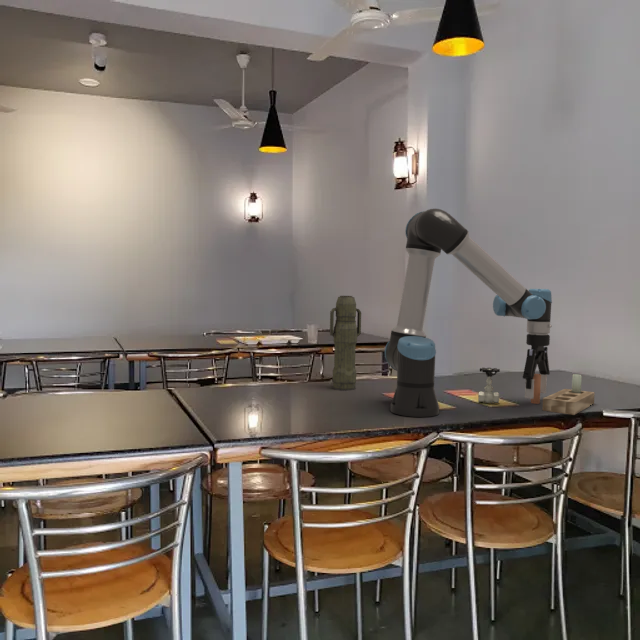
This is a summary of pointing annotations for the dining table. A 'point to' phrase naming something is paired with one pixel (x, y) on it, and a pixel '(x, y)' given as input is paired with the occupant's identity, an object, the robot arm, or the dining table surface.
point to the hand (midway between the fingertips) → (535, 395)
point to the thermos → (345, 342)
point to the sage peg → (576, 383)
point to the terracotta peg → (536, 389)
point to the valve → (489, 387)
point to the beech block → (568, 401)
